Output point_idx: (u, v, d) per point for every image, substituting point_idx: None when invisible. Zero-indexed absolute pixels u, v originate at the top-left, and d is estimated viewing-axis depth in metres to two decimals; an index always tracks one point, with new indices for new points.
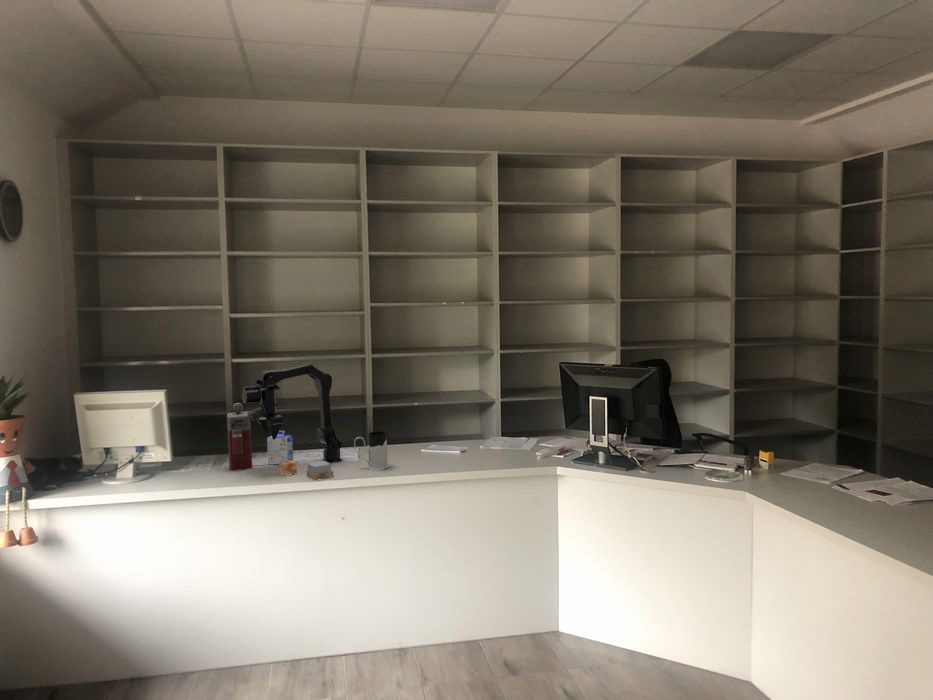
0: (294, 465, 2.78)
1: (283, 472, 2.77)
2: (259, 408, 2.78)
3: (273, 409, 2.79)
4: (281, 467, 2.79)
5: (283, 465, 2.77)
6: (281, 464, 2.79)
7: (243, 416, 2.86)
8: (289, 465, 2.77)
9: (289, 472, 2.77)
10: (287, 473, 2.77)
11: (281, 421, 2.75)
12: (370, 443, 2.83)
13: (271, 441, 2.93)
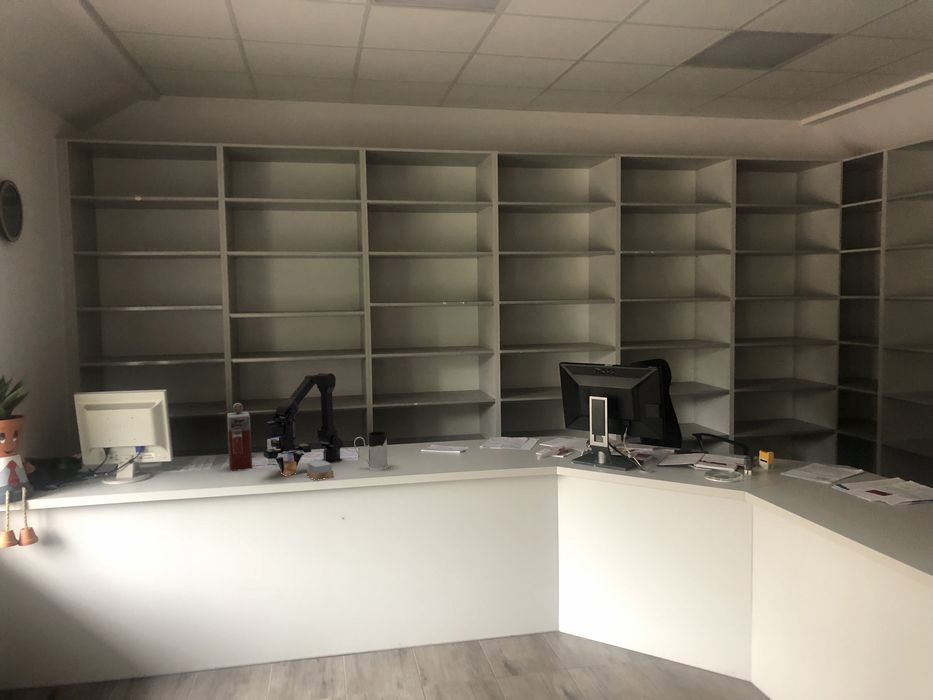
0: (294, 465, 2.78)
1: (283, 472, 2.77)
2: None
3: (282, 444, 2.76)
4: None
5: None
6: None
7: (243, 416, 2.86)
8: (289, 465, 2.77)
9: (289, 472, 2.77)
10: (287, 473, 2.77)
11: (267, 456, 2.72)
12: (370, 443, 2.83)
13: None
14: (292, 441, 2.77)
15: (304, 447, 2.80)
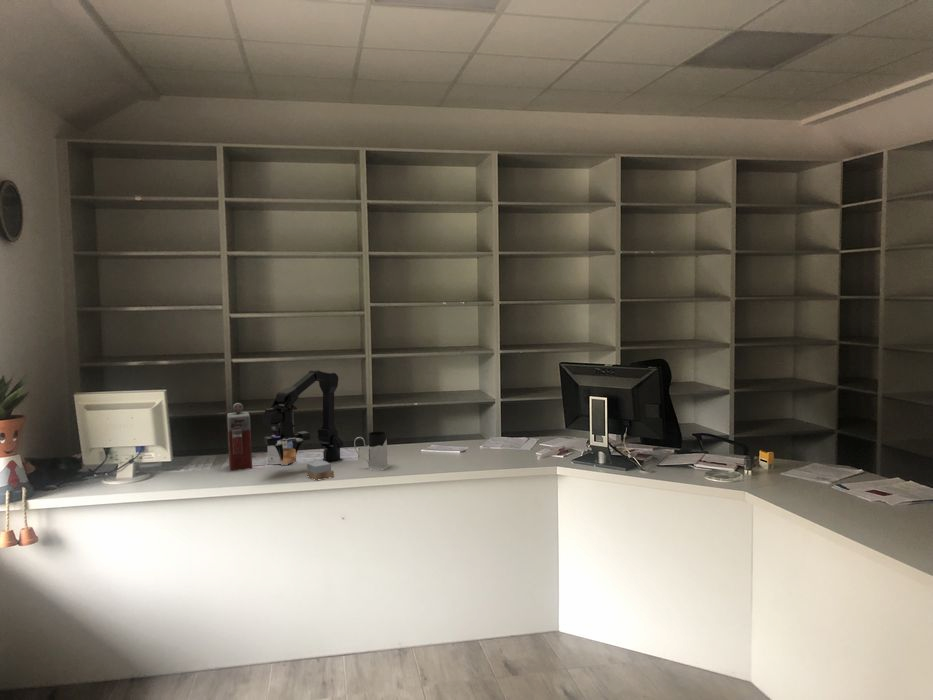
0: (293, 452, 2.78)
1: None
2: None
3: (281, 431, 2.75)
4: None
5: None
6: None
7: (243, 416, 2.86)
8: (288, 452, 2.76)
9: (288, 459, 2.77)
10: (286, 460, 2.76)
11: (266, 443, 2.71)
12: (370, 443, 2.83)
13: None
14: (291, 428, 2.76)
15: (303, 434, 2.80)
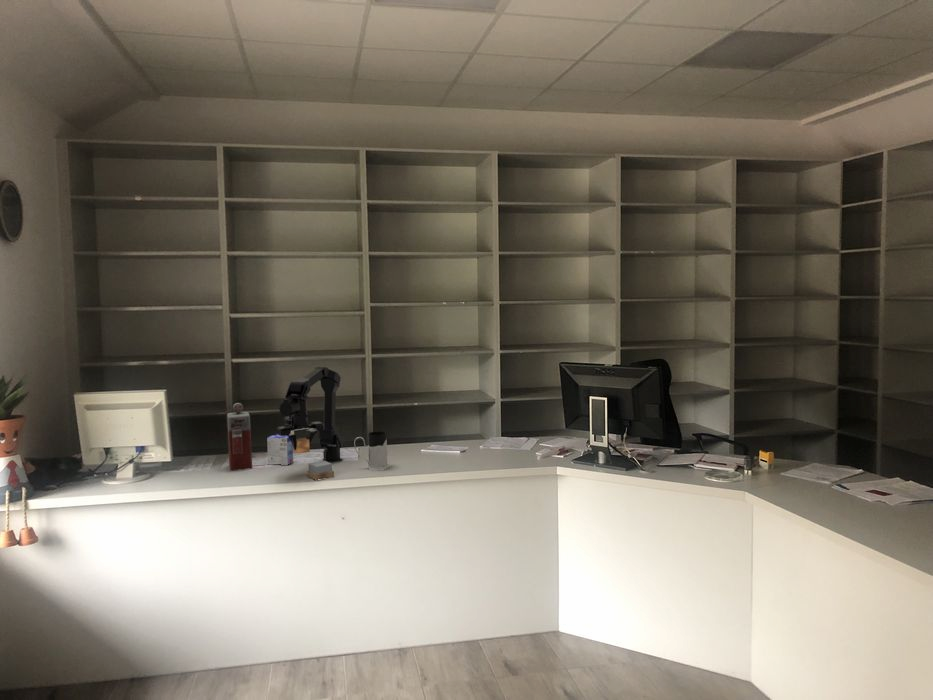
0: (307, 443, 2.75)
1: (296, 449, 2.74)
2: None
3: (295, 421, 2.73)
4: None
5: (296, 442, 2.74)
6: None
7: (243, 416, 2.86)
8: (302, 442, 2.74)
9: (302, 449, 2.74)
10: (300, 450, 2.73)
11: (280, 433, 2.69)
12: (370, 443, 2.83)
13: (271, 441, 2.94)
14: (305, 418, 2.74)
15: (317, 425, 2.77)
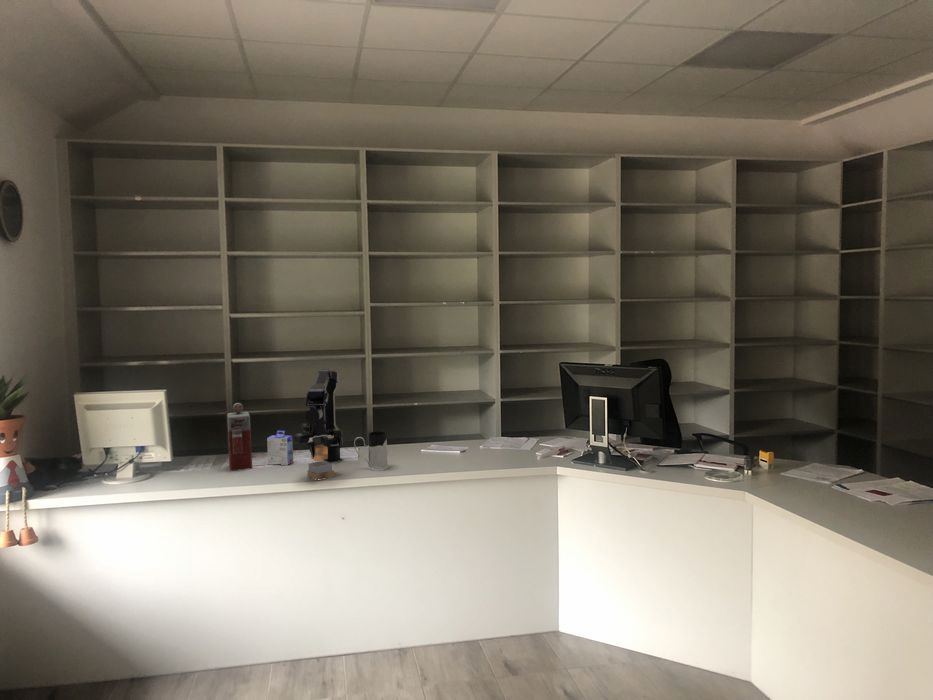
0: (325, 450, 2.72)
1: (314, 457, 2.71)
2: None
3: (313, 428, 2.70)
4: None
5: None
6: None
7: (243, 416, 2.86)
8: (320, 449, 2.71)
9: (320, 457, 2.71)
10: (318, 458, 2.71)
11: (298, 441, 2.66)
12: (370, 443, 2.83)
13: (271, 441, 2.94)
14: (323, 425, 2.71)
15: (335, 431, 2.74)
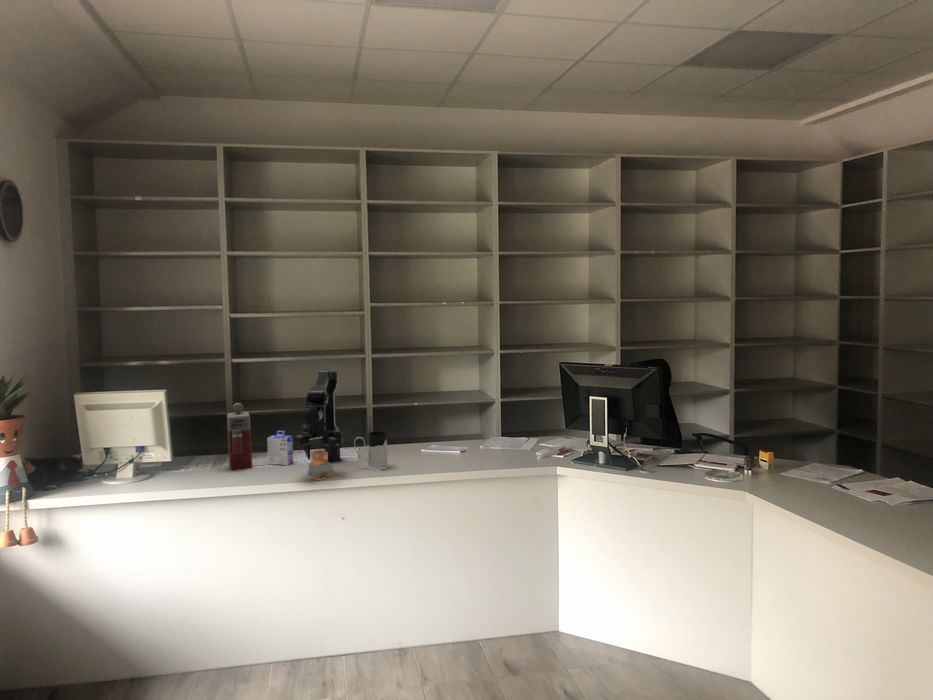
0: (325, 455, 2.72)
1: (314, 462, 2.72)
2: None
3: (313, 429, 2.70)
4: (312, 457, 2.73)
5: (314, 455, 2.71)
6: (312, 454, 2.73)
7: (243, 416, 2.86)
8: (320, 455, 2.71)
9: (320, 462, 2.71)
10: (318, 463, 2.71)
11: (298, 442, 2.66)
12: (370, 443, 2.83)
13: (271, 441, 2.94)
14: (323, 427, 2.71)
15: (335, 433, 2.74)
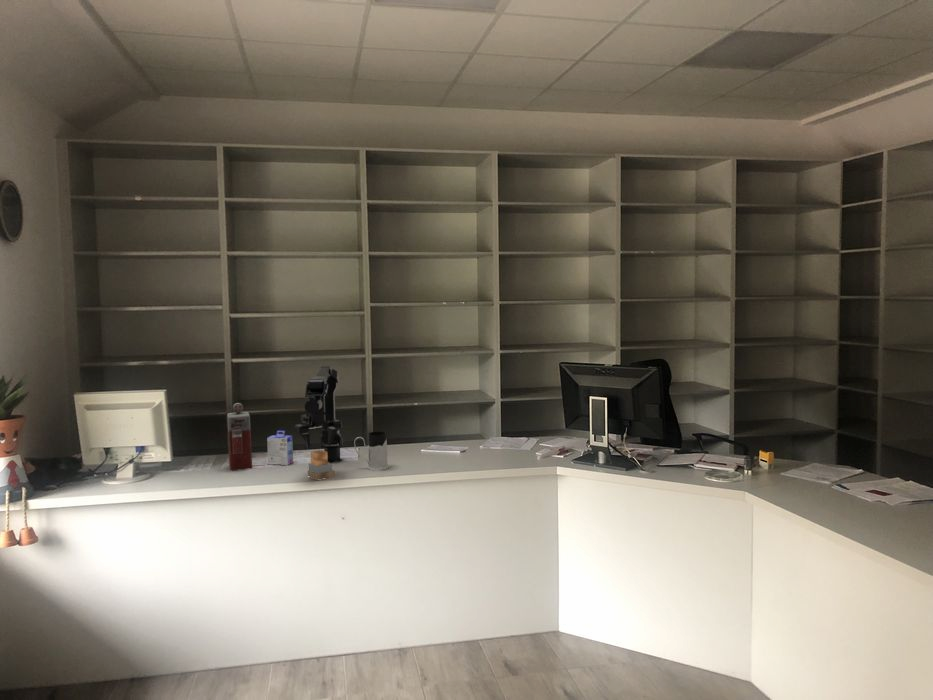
0: (325, 455, 2.73)
1: (314, 462, 2.72)
2: None
3: (313, 419, 2.70)
4: (312, 457, 2.73)
5: (314, 455, 2.71)
6: (312, 454, 2.73)
7: (243, 416, 2.86)
8: (320, 455, 2.71)
9: (320, 462, 2.71)
10: (318, 463, 2.71)
11: (298, 431, 2.65)
12: (370, 443, 2.83)
13: (271, 441, 2.94)
14: (323, 416, 2.71)
15: (335, 422, 2.74)
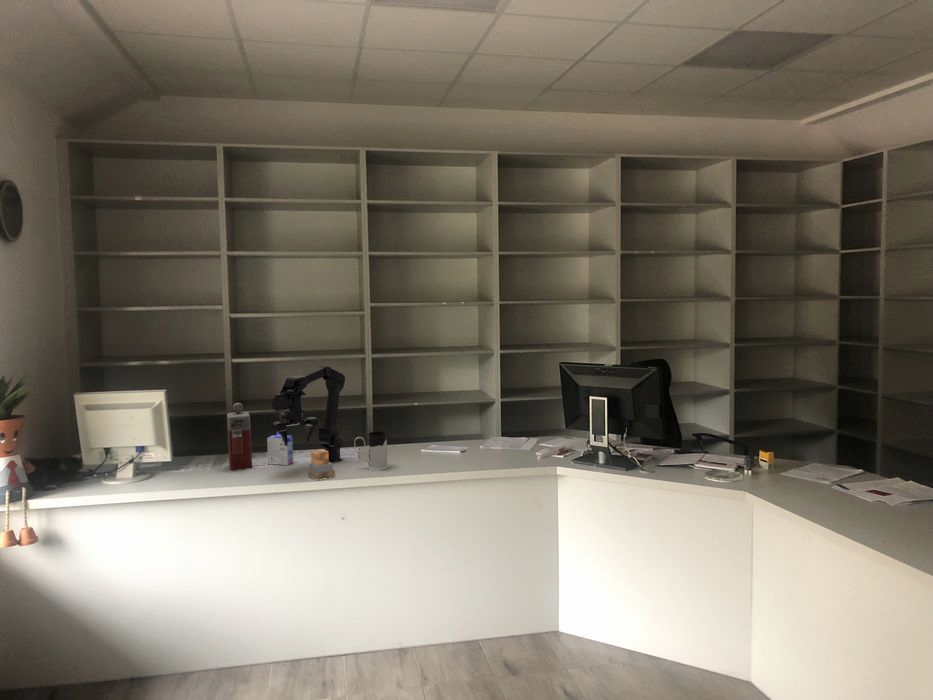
0: (326, 454, 2.73)
1: (315, 462, 2.72)
2: None
3: (290, 416, 2.77)
4: (312, 457, 2.73)
5: (315, 454, 2.71)
6: (312, 454, 2.73)
7: (243, 416, 2.86)
8: (321, 454, 2.71)
9: (322, 461, 2.72)
10: (320, 462, 2.71)
11: (275, 428, 2.73)
12: (370, 443, 2.83)
13: (271, 441, 2.94)
14: (300, 414, 2.78)
15: (312, 420, 2.82)
